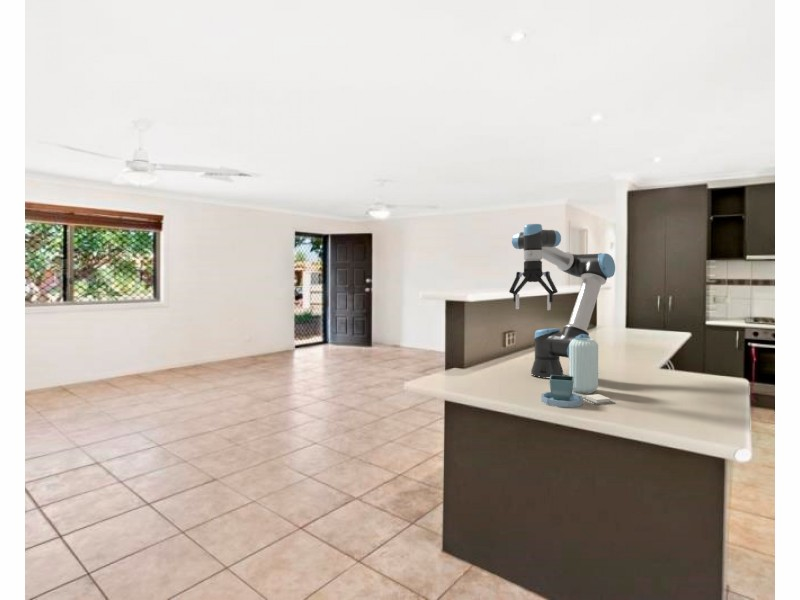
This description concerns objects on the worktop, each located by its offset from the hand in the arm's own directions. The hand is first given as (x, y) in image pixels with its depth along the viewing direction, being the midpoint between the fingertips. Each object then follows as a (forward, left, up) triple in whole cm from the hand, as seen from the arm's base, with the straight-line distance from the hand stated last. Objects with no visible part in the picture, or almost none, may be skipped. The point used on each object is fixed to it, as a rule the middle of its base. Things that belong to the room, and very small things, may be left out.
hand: (532, 309), depth 205 cm
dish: (+22, 0, -35) cm, 41 cm away
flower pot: (+22, 0, -34) cm, 41 cm away
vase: (+10, +18, -35) cm, 41 cm away
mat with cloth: (+25, +14, -35) cm, 45 cm away
